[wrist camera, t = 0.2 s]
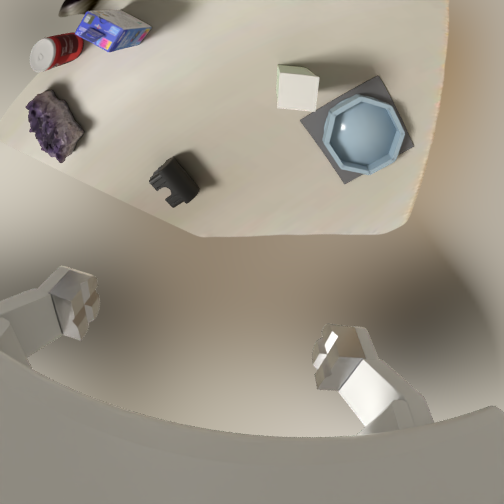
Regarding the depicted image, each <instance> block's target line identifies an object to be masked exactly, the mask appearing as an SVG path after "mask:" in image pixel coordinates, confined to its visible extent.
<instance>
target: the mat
mask: <svg viewBox="0 0 504 504" xmlns="http://www.w3.org/2000/svg"><path fill="white" fill-rule="evenodd" d="M356 94H357V95H358V94H360V95H363V96H369V97H373V98H376V99H378V100H380V101H383V102H386V103H388V104H389V105H391V106H392V107H393V109H394V111H395V113H396V115H397V117H398V119H399V121H400V123H401V125H402V128H403V130H404V132H405V133H404V134H405V136H404V139H403V142H402V144H401V147H400V150H399V153H398V155H399V154H401V153H403V152H405V151H407V150H408V149H410V148H412V147H414V146H413V144H412V141H411V139H410V137H409V134H408V132H407V130H406V128H405V125H404V123H403V121H402V119H401V117H400V115H399V113H398V111H397V109H396V107H395V105H394V103H393V101H392V99H391V97H390V95H389V93H388V91H387V90H386V88H385V86H384V84H383V82H382V81H381V79H380V77H379V76H376V77H374V78H372V79H370V80H368V81H366V82H364V83H363V84H361V85H359V86H357V87H355V88H353V89H352V90H350V91H348V92H346V93H345V94H343V95H341V96H339V97H338V98H336V99H334V100H332V101H331V102H329V103H327V104H326V105H324V106H322V107H321V108H319V109H317V110H316V111H315V112H312V113H311V114H309V115H308V116H306V117H304V118H303V119H301V120H300V122H301V123H302V124H303V126H304V127H305V128H306V129H307V131H308V132H309V134H310V135H311V136H312V138H313V139H314V140H315V142H316V143H317V145H318V146H319V147H320V149H321V150H322V152H323V153H324V154H325V156H326V157H327V159H328V160H329V162H330V163H331V165H332V166H333V168H334V169H335V171H336V172H337V174H338V175H339V177H340V178H341V180H342V181H343V183H344V184H346V183H348V182H350V181H352V180H353V179H355V178H357V177H359V176H361V175H362V173H357V172H352V171H348V170H343V169H340V167H339V166H338V164H337V163H336V161H335V160H334V158H333V157H332V155H331V154H330V152H329V151H328V149H327V148H326V146H325V145H324V143H323V141H322V138H323V134H324V124H325V121H326V118H327V116H328V112H329V111H330V109H331V108H333V107H334V106H335V105H336V104H337V103H339V102H340V101H342V100H344V99H346V98H349V97H352V96H354V95H356Z"/></svg>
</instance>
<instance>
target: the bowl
mask: <svg viewBox="0 0 504 504" xmlns="http://www.w3.org/2000/svg"><path fill="white" fill-rule="evenodd" d="M404 133H405V132H404V130H403V128H402V125H401V123H400V121H399V119H398V117H397V115H396V113H395V111H394V109H393V107H392V106H391V105H389V104H388V103H386V102H383V101H380V100H378V99H376V98H373V97H369V96H363V95H360V94H358V95H357V94H356V95H354V96H352V97H349V98H346V99H344V100H342V101H340V102H339V103H337V104H336V105H335V106H334V107H333V108H331V109H330V111H329V112H328V116H327V118H326V121H325V124H324V134H323V138H322V141H323V143H324V145H325V146H326V148H327V149H328V151H329V152H330V154H331V155H332V157H333V158H334V160H335V161H336V163H337V164H338V166H339V167H340V169H343V170H348V171H352V172H357V173H362V174H366V175H369V174H370V175H371V174H373V173H375V172H377V171H378V170H380V169H382V168H384V167H386V166H388V165H389V164H391V163H393V162H395V161H396V158H397V156H398V153H399V150H400V147H401V144H402V142H403V139H404V136H405V134H404Z"/></svg>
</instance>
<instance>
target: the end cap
mask: <svg viewBox="0 0 504 504" xmlns="http://www.w3.org/2000/svg"><path fill="white" fill-rule="evenodd" d="M149 182H150V184H151V185H152V186H153V187H154V188H155V189H156V190H157V191H158V190H159V189H161V188H162V187H167V188H169V189H170V190H171V195H170V196H169V197H167V198H166V199H165V200H166V201H167V202H168V203H169V204H170V205H171V206H172V207H173V208H174V207H176V206H177V205H179V204H181V203H182V202H185V203H186V204H187V203H189V202H190V201H191V200H192V199H193V198H194V197H195V196H196V195H197V194H198V192H199V187H198V186H197V185H196V183H195V182H194V181H193V180H192V179H191V177H190V176H189V175H188V174H187V173H186V172H185V170H184V169H183V168H182V167H181V166H180V165H179V163H178V162H177V161H176V160H175V159H174V158H173V157H172V158H170V159H168V160H167V161H166V162H165V163H164V164H163V165H162V166H161V167H159V168H158V170H157V171H155V172H154V174H153V176H152V177H150V180H149Z"/></svg>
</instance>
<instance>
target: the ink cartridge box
mask: <svg viewBox="0 0 504 504" xmlns="http://www.w3.org/2000/svg"><path fill="white" fill-rule="evenodd" d="M151 28H152V27H151V26H150V25H148V24H146V23H144V22H143V21H141V20H139V19H137V18H135V17H133V16H131V15H129V14H127V13H125V12H123V11H121V10H98V11H88V12H86V14H85V16H84V18H83V20H82V22H81V23H80V25H79V26H78V28H77V30H76V32H75V34H76V35H78V36H79V37H81V38H83V39H85V40H87V41H89V42H91V43H93V44H95V45H96V46H98V47H100V48H102V49H104V50H105V51H107V52H112V51H116V50H120V49H124V48H128V47H132V46H136V45H139V44H140V43H141V41H142V40H143V39H144V37H145V36H146V35H147V34H148V32H149V31H150V30H151Z"/></svg>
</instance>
